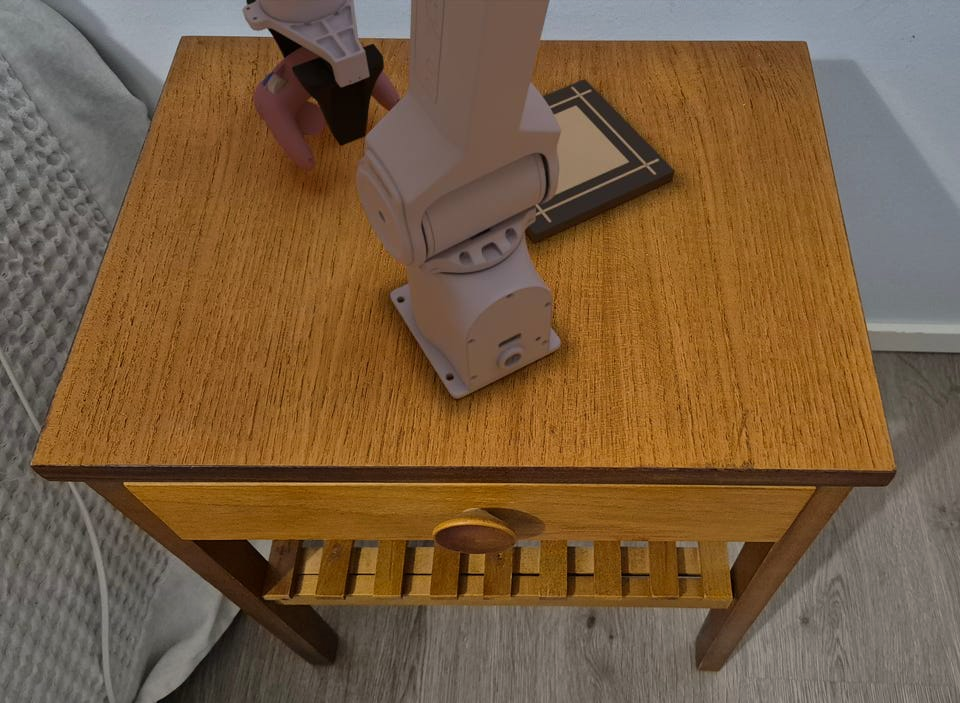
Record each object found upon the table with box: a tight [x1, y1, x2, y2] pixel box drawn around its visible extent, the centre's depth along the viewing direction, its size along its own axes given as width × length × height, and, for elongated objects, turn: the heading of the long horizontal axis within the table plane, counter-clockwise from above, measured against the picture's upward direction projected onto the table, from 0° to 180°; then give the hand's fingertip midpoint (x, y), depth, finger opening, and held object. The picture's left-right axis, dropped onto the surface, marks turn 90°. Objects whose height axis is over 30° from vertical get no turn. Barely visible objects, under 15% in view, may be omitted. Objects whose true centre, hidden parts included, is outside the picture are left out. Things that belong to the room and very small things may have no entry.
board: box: [525, 78, 675, 244], centre depth 61 cm, size 12×12×1 cm
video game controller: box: [253, 44, 401, 172], centre depth 59 cm, size 10×5×7 cm, turn 135°
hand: (331, 108), depth 60 cm, fingers closed on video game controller, 6 cm apart
